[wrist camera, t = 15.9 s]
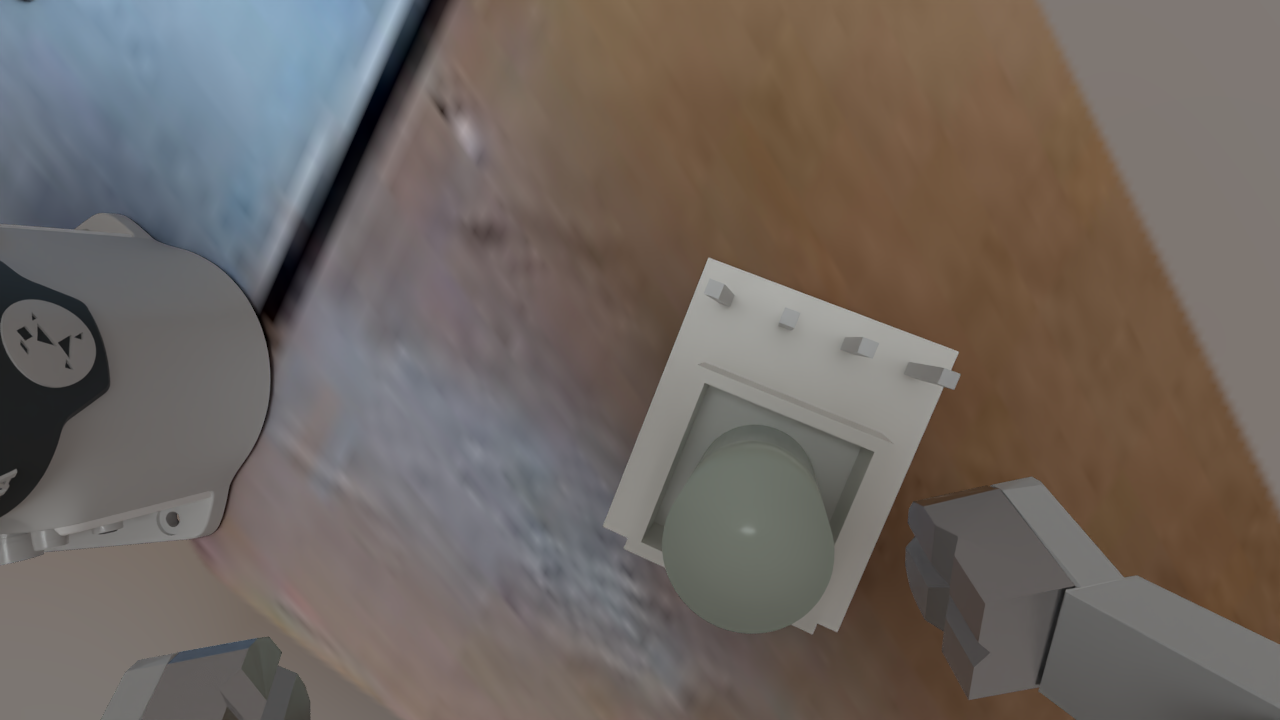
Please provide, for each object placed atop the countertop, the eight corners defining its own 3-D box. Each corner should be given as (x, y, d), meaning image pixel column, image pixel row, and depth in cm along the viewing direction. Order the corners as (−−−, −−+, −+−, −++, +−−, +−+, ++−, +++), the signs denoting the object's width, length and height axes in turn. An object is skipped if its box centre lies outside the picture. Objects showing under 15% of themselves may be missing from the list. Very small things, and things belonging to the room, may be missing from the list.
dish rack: (835, 624, 35) (853, 707, 27) (607, 521, 37) (561, 571, 29) (953, 351, 34) (1008, 355, 26) (710, 259, 35) (691, 237, 28)
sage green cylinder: (717, 554, 35) (692, 651, 24) (681, 444, 35) (640, 491, 24) (831, 523, 34) (858, 609, 23) (793, 409, 34) (802, 443, 23)
